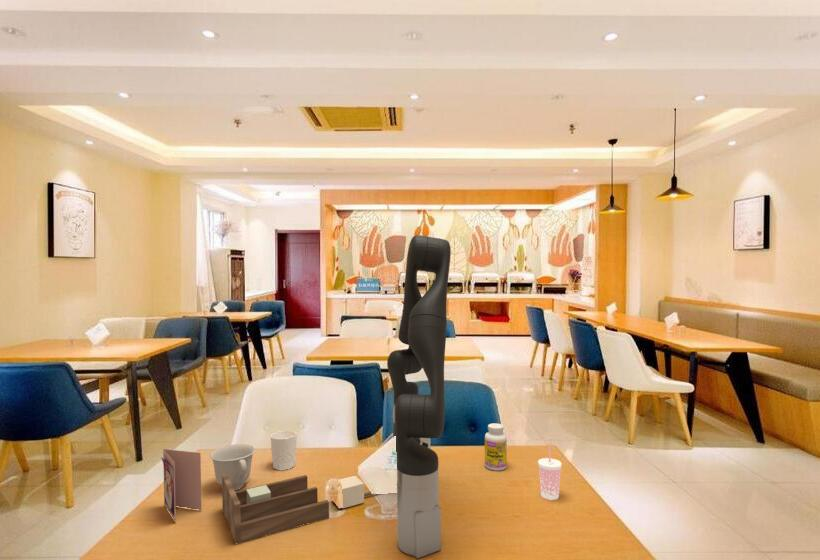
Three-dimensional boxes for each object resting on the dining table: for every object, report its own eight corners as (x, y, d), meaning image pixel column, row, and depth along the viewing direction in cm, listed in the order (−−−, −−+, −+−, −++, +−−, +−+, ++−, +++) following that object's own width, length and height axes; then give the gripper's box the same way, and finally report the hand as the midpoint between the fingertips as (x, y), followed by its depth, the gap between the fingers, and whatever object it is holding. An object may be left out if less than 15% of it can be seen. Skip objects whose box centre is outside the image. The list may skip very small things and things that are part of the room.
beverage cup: (561, 502, 122) (561, 449, 122) (537, 499, 124) (537, 446, 124) (562, 492, 128) (561, 441, 128) (538, 489, 130) (538, 438, 130)
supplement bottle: (483, 470, 143) (483, 428, 143) (486, 461, 150) (486, 421, 149) (505, 472, 141) (505, 430, 141) (507, 463, 148) (507, 423, 147)
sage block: (271, 512, 119) (270, 492, 119) (250, 517, 117) (250, 497, 117) (266, 503, 124) (266, 484, 124) (246, 508, 121) (246, 489, 121)
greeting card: (160, 507, 122) (159, 449, 122) (191, 498, 127) (190, 442, 127) (171, 525, 113) (170, 463, 113) (204, 514, 118) (202, 455, 118)
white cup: (270, 463, 150) (270, 431, 150) (296, 459, 152) (295, 429, 152) (271, 473, 142) (270, 440, 142) (297, 469, 145) (297, 437, 145)
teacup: (221, 505, 123) (221, 467, 123) (204, 485, 134) (204, 450, 134) (266, 491, 130) (265, 455, 130) (246, 473, 142) (246, 440, 142)
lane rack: (329, 517, 116) (328, 481, 116) (235, 544, 105) (234, 504, 105) (306, 489, 131) (305, 457, 131) (222, 509, 120) (221, 475, 120)
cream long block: (416, 488, 131) (415, 470, 131) (339, 509, 119) (339, 490, 119) (405, 480, 136) (405, 463, 136) (330, 500, 124) (330, 481, 124)
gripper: (390, 428, 126) (391, 492, 126) (434, 419, 133) (434, 480, 133) (378, 420, 132) (378, 481, 132) (420, 412, 139) (420, 470, 139)
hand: (406, 480), depth 133 cm, fingers closed on cream long block, 2 cm apart
